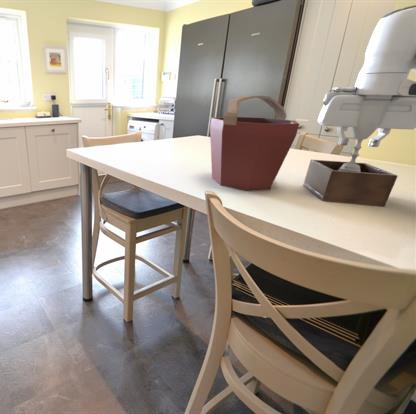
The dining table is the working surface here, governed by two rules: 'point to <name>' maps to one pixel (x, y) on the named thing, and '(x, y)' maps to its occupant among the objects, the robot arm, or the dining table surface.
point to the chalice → (365, 128)
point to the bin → (349, 183)
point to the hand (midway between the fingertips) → (357, 145)
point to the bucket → (250, 146)
